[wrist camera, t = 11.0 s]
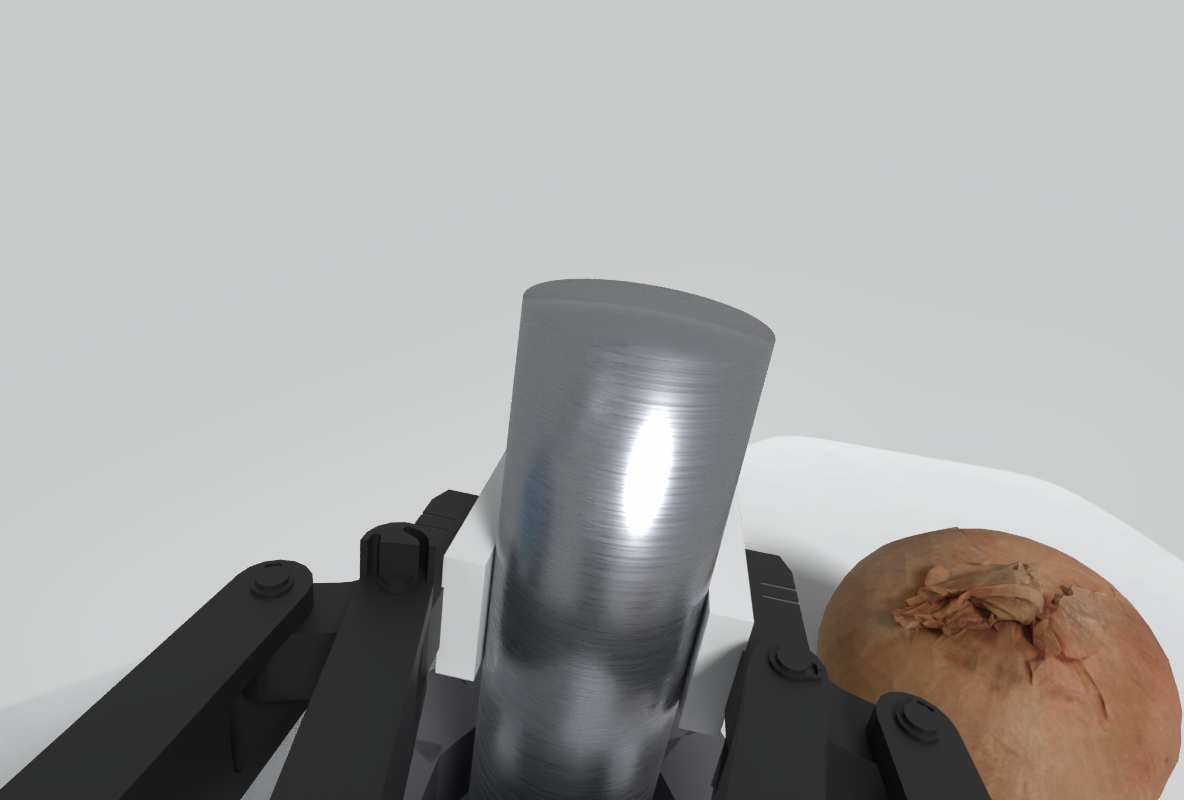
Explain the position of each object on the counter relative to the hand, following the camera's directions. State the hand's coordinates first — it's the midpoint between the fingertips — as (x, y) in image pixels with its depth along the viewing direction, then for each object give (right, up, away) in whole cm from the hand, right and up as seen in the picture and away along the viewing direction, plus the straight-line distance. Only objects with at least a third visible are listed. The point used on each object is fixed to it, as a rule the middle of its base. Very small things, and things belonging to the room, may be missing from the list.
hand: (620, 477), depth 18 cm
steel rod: (-2, -9, -2) cm, 10 cm away
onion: (+10, -11, +4) cm, 16 cm away
